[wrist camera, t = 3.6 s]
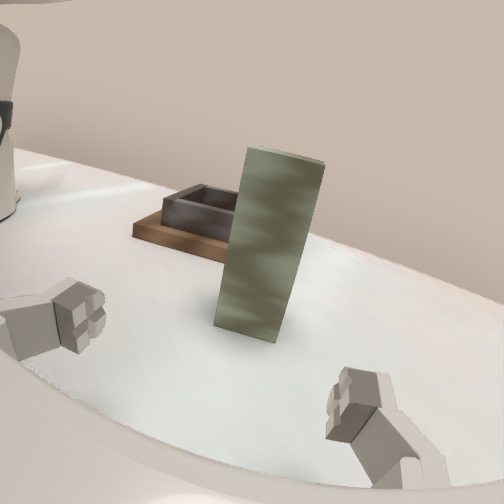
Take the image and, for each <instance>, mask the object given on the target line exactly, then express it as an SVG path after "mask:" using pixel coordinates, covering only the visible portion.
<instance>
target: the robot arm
mask: <svg viewBox="0 0 504 504" xmlns="http://www.w3.org/2000/svg"><path fill="white" fill-rule="evenodd" d="M62 1H71V0H0V4H46V3H55V2H62ZM19 55H20V43H19V40H18V38H17V36H16V35H15V34H14V33H13V32H12V31H11V30H10V29H8V28H7V27H5V26H3V25H1V24H0V220H2V219H4V218H6V217H7V216H9V215H10V214H12V213H13V212H14V211H15V209H16V202H17V201H18V200H19V199H20V191H19V190H15V175H14V150H13V144H12V142H11V141H10V139H9V136H8V129H10V127H11V120H12V116H13V112H12V109H13V103H12V102H10V101H11V96H12V90H13V84H14V78H15V73H16V68H17V64H18V59H19ZM104 303H105V296H104V293H103V292H102V291H100V290H98V289H95V288H93V287H91V286H89V285H87V284H84V283H82V282H79V281H77V280H75V279H73V278H66V279H64V280H63V281H61V282H60V283H58V284H57V285H55V286H54V287H52V288H50V289H49V290H47V291H46V292H44V293H43V294H41V295H39V294H33V295H27V296H20V297H14V298H8V299H1V300H0V504H504V479H503V480H498V481H493V482H487V483H481V484H474V485H466V486H457V487H451V485H450V480H449V475H448V470H447V465H446V461H445V457H444V456H443V455H442V454H441V453H440V452H439V450H438V449H437V448H436V447H435V446H434V445H433V444H432V443H431V442H430V441H429V440H428V439H427V438H426V436H425V435H424V434H423V433H422V432H421V431H420V430H419V429H418V428H417V427H416V426H415V425H414V424H413V422H412V421H411V420H410V419H409V418H408V417H407V416H406V415H405V414H404V413H403V412H402V411H400V410H397V405H396V400H395V395H394V391H393V386H392V382H391V377H390V375H389V374H385V373H378V372H370V371H365V370H360V369H355V368H350V367H344V368H343V369H342V371H341V373H340V375H339V383H337V384H336V385H334V386H333V388H332V390H331V392H330V395H329V398H328V402H327V412H326V413H327V414H328V415H329V419H328V421H327V422H326V437H325V439H328V440H333V441H338V442H344V443H350V445H351V447H352V449H353V451H354V452H355V454H356V456H357V458H358V459H359V461H360V463H361V465H362V466H363V468H364V470H365V471H366V473H367V475H368V477H369V478H370V480H371V482H372V484H373V486H372V487H371V488H358V487H346V486H337V485H328V484H320V483H313V482H307V481H301V480H295V479H289V478H284V477H279V476H274V475H270V474H265V473H261V472H256V471H252V470H248V469H244V468H241V467H237V466H233V465H230V464H226V463H223V462H219V461H216V460H213V459H210V458H206V457H203V456H200V455H197V454H194V453H192V452H189V451H186V450H183V449H180V448H178V447H175V446H172V445H170V444H167V443H165V442H162V441H160V440H157V439H155V438H152V437H150V436H148V435H145V434H143V433H141V432H139V431H136V430H134V429H132V428H130V427H128V426H126V425H123V424H121V423H119V422H117V421H115V420H113V419H111V418H109V417H107V416H105V415H103V414H101V413H100V412H98V411H96V410H94V409H92V408H90V407H88V406H87V405H85V404H83V403H81V402H79V401H78V400H76V399H74V398H73V397H71V396H69V395H67V394H66V393H64V392H63V391H61V390H59V389H58V388H56V387H54V386H53V385H51V384H50V383H48V382H47V381H45V380H44V379H42V378H41V377H39V376H38V375H36V374H35V373H33V372H32V371H30V370H29V369H28V368H26V367H25V366H23V365H22V364H21V363H19V361H22V360H25V359H28V358H30V357H33V356H36V355H39V354H41V353H44V352H47V351H50V350H52V349H55V348H58V347H60V345H61V346H63V347H65V348H67V349H68V350H70V351H72V352H74V353H76V354H78V355H79V354H80V353H81V352H82V351H83V350H84V349H85V348H86V347H87V346H88V345H89V344H90V339H92V338H96V337H97V336H98V335H99V334H100V333H101V332H102V330H103V328H104V326H105V321H106V313H105V311H104V310H103V308H102V306H103V304H104Z"/></svg>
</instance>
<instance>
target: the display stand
mask: <svg viewBox="0 0 504 504" xmlns="http://www.w3.org/2000/svg"><path fill="white" fill-rule="evenodd" d="M237 197H238V192H234V191H229V190H225V189H221V188H216V187H211V186H208V185H203V184H199V185H196V186H193V187H191V188H188V189H185V190H183V191H180V192H178V193H175V194H173V195H170V196H168V197H165V198H163V207H162V210H160V211H158V212H155V213H153V214H151V215H149V216H147V217H145V218H143V219H141V220H139V221H137V222H135V223H133V235H132V236H133V237H136V238H139V239H143V240H146V241H150V242H153V243H157V244H160V245H163V246H167V247H170V248H174V249H177V250H181V251H184V252H188V253H191V254H195V255H198V256H202V257H205V258H209V259H212V260H216V261H220V262H223V263H225V260H226V254H227V249H228V244H229V238H230V233H231V228H232V223H233V217H234V212H235V207H236V202H237Z"/></svg>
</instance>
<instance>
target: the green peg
mask: <svg viewBox="0 0 504 504" xmlns="http://www.w3.org/2000/svg"><path fill="white" fill-rule="evenodd" d="M324 169H325V164H324V162H323V161H320V160H316V159H312V158H308V157H304V156H300V155H296V154H292V153H288V152H284V151H280V150H275V149H270V148H266V147H262V146H261V147H248V148H247V153H246V158H245V162H244V167H243V172H242V177H241V182H240V187H239V192H238V197H237V202H236V207H235V212H234V217H233V223H232V228H231V233H230V238H229V244H228V249H227V254H226V260H225V265H224V270H223V276H222V281H221V287H220V293H219V298H218V304H217V309H216V315H215V321H214V326H217V327H221V328H224V329H227V330H230V331H234V332H237V333H241V334H244V335H247V336H251V337H254V338H258V339H262V340H265V341H269V342H272V343H275V342H276V339H277V336H278V333H279V330H280V327H281V323H282V320H283V317H284V314H285V310H286V307H287V304H288V301H289V297H290V294H291V291H292V287H293V284H294V280H295V277H296V274H297V270H298V267H299V263H300V260H301V256H302V253H303V249H304V245H305V242H306V238H307V235H308V231H309V227H310V223H311V220H312V216H313V212H314V209H315V205H316V201H317V197H318V193H319V189H320V185H321V181H322V177H323V173H324Z"/></svg>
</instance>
